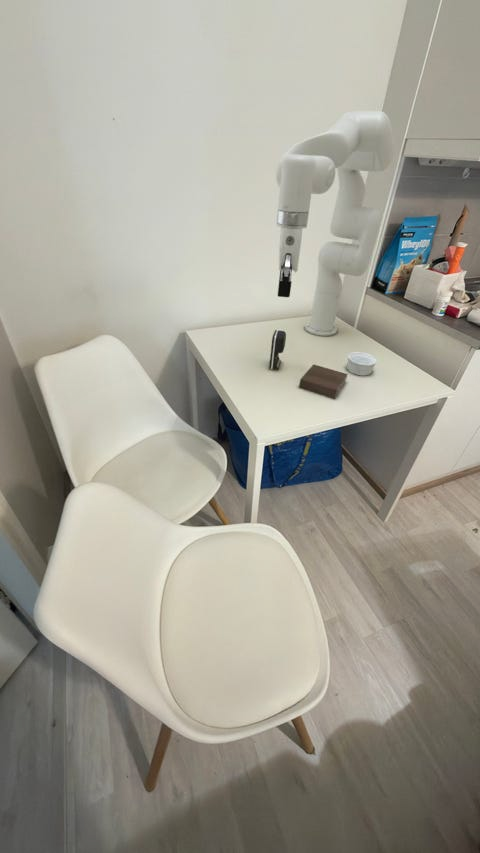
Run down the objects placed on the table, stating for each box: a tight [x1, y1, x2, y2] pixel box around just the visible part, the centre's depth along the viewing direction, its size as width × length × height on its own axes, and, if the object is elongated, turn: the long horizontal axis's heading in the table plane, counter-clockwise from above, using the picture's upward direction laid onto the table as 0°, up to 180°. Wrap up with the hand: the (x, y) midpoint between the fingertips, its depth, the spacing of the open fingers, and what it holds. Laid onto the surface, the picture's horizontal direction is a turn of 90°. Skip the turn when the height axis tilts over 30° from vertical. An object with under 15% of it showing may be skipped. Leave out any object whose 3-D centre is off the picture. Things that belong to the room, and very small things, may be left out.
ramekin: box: [346, 351, 377, 376], centre depth 111 cm, size 9×9×4 cm
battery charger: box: [268, 329, 287, 371], centre depth 108 cm, size 7×4×11 cm, turn 167°
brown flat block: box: [298, 363, 348, 400], centre depth 103 cm, size 11×11×3 cm
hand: (283, 291), depth 94 cm, fingers open, 9 cm apart
